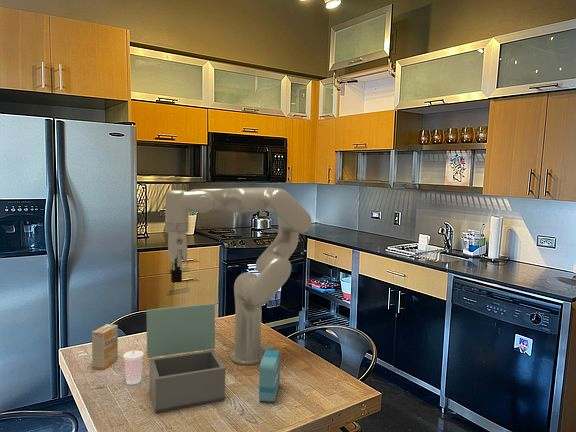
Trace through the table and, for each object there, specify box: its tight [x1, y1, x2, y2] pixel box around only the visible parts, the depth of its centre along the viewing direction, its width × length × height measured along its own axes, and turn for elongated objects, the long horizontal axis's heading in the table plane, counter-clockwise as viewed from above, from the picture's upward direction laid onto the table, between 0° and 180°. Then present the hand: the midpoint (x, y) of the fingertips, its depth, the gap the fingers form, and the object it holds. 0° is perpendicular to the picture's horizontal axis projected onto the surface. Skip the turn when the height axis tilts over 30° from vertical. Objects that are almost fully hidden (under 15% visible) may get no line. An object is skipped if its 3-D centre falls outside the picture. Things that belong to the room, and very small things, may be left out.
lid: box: [146, 303, 216, 359], centre depth 137 cm, size 21×15×1 cm
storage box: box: [149, 349, 226, 414], centre depth 131 cm, size 20×14×10 cm
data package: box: [258, 349, 281, 403], centre depth 133 cm, size 12×4×12 cm, turn 173°
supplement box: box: [91, 323, 119, 371], centre depth 150 cm, size 8×5×13 cm, turn 168°
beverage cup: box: [123, 338, 144, 385], centre depth 138 cm, size 6×6×14 cm
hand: (176, 281), depth 144 cm, fingers closed
